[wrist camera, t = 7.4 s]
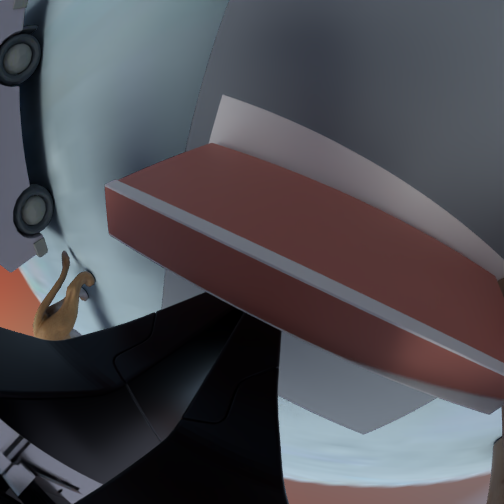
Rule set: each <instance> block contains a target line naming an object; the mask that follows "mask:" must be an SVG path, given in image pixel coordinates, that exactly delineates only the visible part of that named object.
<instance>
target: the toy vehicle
mask: <svg viewBox="0 0 504 504" xmlns="http://www.w3.org/2000/svg"><path fill="white" fill-rule="evenodd" d="M27 3H28V0H1V1H0V265H1V266H3V267H4V268H5V269H6V270H8V271H9V272H13V271H14V270H16V269H17V268H18V267H20V266H21V265H22V264H24V263H25V262H26V261H28V260H29V259H31V258H32V257H33V256H35V255H37V256H39V257H42V256H43V255H45V254H46V253H47V252H48V249H47V246H46V242H45V239H44V237H43V235H42V234H41V233H39V232H41V231H42V230H44V229H45V227H46V226H47V225H48V223H49V222H50V220H51V217H52V214H53V200H52V197H51V194H50V193H49V192H48V190H47V189H45V188H44V187H43V186H40V185H36V184H32V185H30V184H29V179H28V173H27V168H26V162H25V155H24V148H23V140H22V131H21V119H20V100H19V86H16V87H12V86H14V85H17V84H20V83H22V82H23V81H25V80H26V79H28V78H29V77H30V75H31V74H32V73H33V72H34V71H35V69H36V67H37V66H38V64H39V60H40V56H41V48H40V44H39V42H38V40H37V39H36V38H35V37H33V36H32V35H29V34H31V33H33V32H34V31H35V30H36V29H37V25H32V26H25V27H23V22H24V14H25V8H26V7H27ZM15 74H17V75H15ZM33 195H34V196H33ZM37 195H38V196H37Z"/></svg>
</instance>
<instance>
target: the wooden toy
mask: <svg viewBox="0 0 504 504" xmlns="http://www.w3.org/2000/svg"><path fill="white" fill-rule="evenodd" d="M487 504H504V447H503V446H502V438H500V439H499V440H497V441H496V442H495V444H494V446H493V458H492V469H491V478H490V486H489V493H488V499H487Z"/></svg>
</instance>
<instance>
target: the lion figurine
mask: <svg viewBox="0 0 504 504" xmlns="http://www.w3.org/2000/svg"><path fill="white" fill-rule="evenodd" d="M62 266H63V269H62V273H61V275H60V277H59V279H58V280H57V282H56V283H55V285H54V286H53V288H52V289H51V290H50V292H49V293H48V294H47V296H46V297H45V299H44V300H43V302H42V303H41V305H40V306H39V308H38V311H37V313H36V315H35V318H34V323H33V332H34V336H35V337H36V338H40V339H45V340H66V339H71V338H74V337H78V336H82V335H81V334H80V333H79V332H77V331H76V330H74V329H73V327H74V324H75V321H76V318H77V314H78V303H79V297H80V298H81V299H82V300H84V301H86V300H87V299H88V295H87V293H86V292H85V290H84V289H82V288H81V287H82V285H83V284H85V285H86V286H88V287H91V286H92V285H93V284H94V283H95V279H94V277H93V276H92V274H91V273H89V272H87V271H84V272H81V273H79V274H78V275H77V276H76V277H75V279H74V280H73V281H72V282H71V283H70V285H69V286H68V287H67V292H66V297H65V298H64V299H62V300H61V301H59V302H57V303H55V304H53V305H51V306H49V305H50V303H51V302H52V300H53V299H54V297H55V295H56V294H57V292H58V291H59V289H60V288H61V286H62V284H63V282H64V280H65V278H66V276H67V273H68V269H69V266H70V261H69V256H68V254H67V252H66V251H63V252H62Z"/></svg>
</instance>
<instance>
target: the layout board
mask: <svg viewBox="0 0 504 504" xmlns="http://www.w3.org/2000/svg"><path fill="white" fill-rule="evenodd" d="M210 143H214V144H218V145H221V146H224V147H227V148H230V149H233V150H236V151H239V152H242V153H245V154H248V155H250V156H253V157H256V158H259V159H262V160H264V161H267V162H270V163H273V164H275V165H278V166H280V167H283V168H286V169H288V170H291V171H293V172H296V173H298V174H301V175H303V176H306V177H308V178H311V179H313V180H315V181H318V182H320V183H323V184H325V185H327V186H330V187H332V188H334V189H336V190H339V191H341V192H343V193H345V194H348V195H350V196H352V197H354V198H356V199H359V200H361V201H363V202H365V203H367V204H369V205H371V206H373V207H375V208H377V209H379V210H381V211H383V212H385V213H387V214H389V215H391V216H393V217H395V218H397V219H399V220H401V221H403V222H405V223H407V224H409V225H411V226H413V227H414V228H416V229H418V230H420V231H422V232H424V233H425V234H427V235H429V236H431V237H433V238H434V239H436V240H438V241H440V242H441V243H443V244H445V245H446V246H448V247H450V248H452V249H453V250H455V251H457V252H458V253H460V254H461V255H463V256H465V257H466V258H468V259H470V260H471V261H473V262H474V263H476V264H477V265H479V266H481V267H482V268H484V269H485V270H487V271H488V272H490V273H491V274H493V275H494V276H495V277H496V279H497V281H498V280H500V279H502V278H504V0H229V2H228V5H227V7H226V10H225V13H224V16H223V18H222V21H221V24H220V27H219V30H218V33H217V36H216V39H215V42H214V45H213V48H212V51H211V54H210V58H209V61H208V64H207V67H206V71H205V74H204V78H203V81H202V85H201V88H200V92H199V96H198V100H197V103H196V107H195V111H194V115H193V119H192V123H191V128H190V132H189V136H188V141H187V145H186V150H185V152H187V151H190V150H192V149H195V148H198V147H201V146H204V145H207V144H210ZM204 292H206V291H204V290H202V289H200V288H198V287H197V286H195V285H193V284H191V283H189V282H188V281H186V280H184V279H182V278H180V277H179V276H177V275H175V274H173V273H172V272H170V271H168V270H167V269H166V270H165V279H164V288H163V298H162V309H164V308H167V307H169V306H172V305H174V304H177V303H179V302H182V301H184V300H187V299H189V298H191V297H194V296H196V295H199V294H201V293H204ZM162 309H161V310H162ZM278 396H280V397H282V398H284V399H286V400H288V401H290V402H292V403H294V404H296V405H298V406H300V407H302V408H304V409H306V410H308V411H310V412H313V413H315V414H317V415H319V416H321V417H323V418H326V419H328V420H330V421H332V422H335V423H337V424H339V425H342V426H344V427H346V428H349V429H351V430H354V431H356V432H358V433H361V434H366V433H369V432H371V431H373V430H376V429H378V428H380V427H382V426H384V425H387V424H389V423H391V422H393V421H395V420H397V419H399V418H401V417H403V416H405V415H407V414H409V413H411V412H413V411H415V410H416V409H418V408H420V407H422V406H424V405H426V404H427V403H429V402H431V401H432V400H434V399H436V398H437V397H435V396H432V395H429V394H427V393H424V392H421V391H419V390H416V389H413V388H411V387H408V386H406V385H403V384H400V383H398V382H395V381H393V380H390V379H388V378H385V377H383V376H381V375H378V374H376V373H373V372H371V371H369V370H366V369H364V368H361V367H359V366H357V365H355V364H352V363H350V362H348V361H345V360H343V359H341V358H339V357H336V356H334V355H332V354H330V353H327V352H325V351H323V350H321V349H319V348H317V347H314V346H312V345H310V344H308V343H306V342H304V341H302V340H299V339H297V338H295V337H293V336H291V335H289V334H287V333H285V332H283V331H282V336H281V351H280V364H279V379H278Z"/></svg>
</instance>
